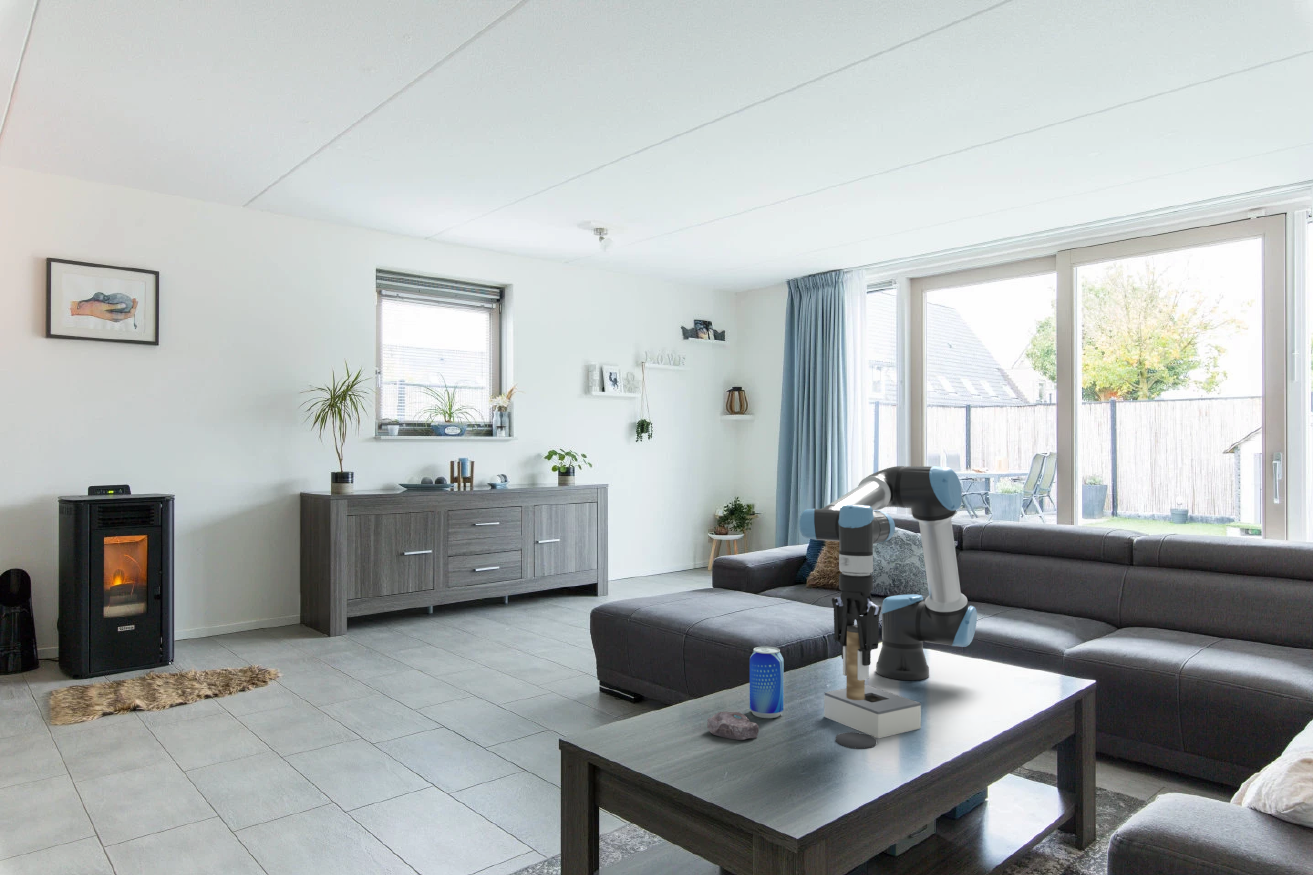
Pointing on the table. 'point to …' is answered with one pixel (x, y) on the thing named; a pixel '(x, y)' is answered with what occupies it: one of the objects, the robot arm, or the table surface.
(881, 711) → the box
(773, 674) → the beer can
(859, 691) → the stylus
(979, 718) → the table surface
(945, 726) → the table surface
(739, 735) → the rock
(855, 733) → the pad
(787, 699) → the table surface
